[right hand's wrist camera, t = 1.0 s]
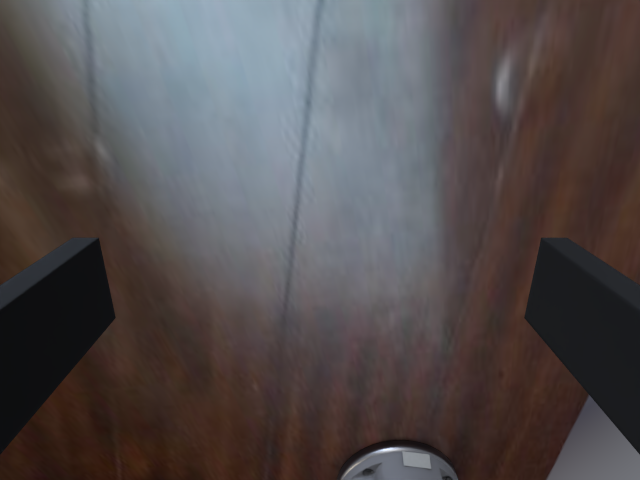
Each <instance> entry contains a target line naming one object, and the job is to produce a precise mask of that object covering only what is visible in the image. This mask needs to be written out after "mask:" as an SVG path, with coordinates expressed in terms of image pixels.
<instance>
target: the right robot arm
mask: <svg viewBox="0 0 640 480" xmlns="http://www.w3.org/2000/svg"><path fill="white" fill-rule="evenodd" d="M115 318H116V317H115V313H114V308H113V303H112V299H111V294H110V289H109V284H108V280H107V275H106V270H105V266H104V261H103V256H102V251H101V247H100V242H99V238H72V239H70V240H69V241H67V242H66V243H64V244H63V245H61V246H60V247H58V248H57V249H55V250H53V251H52V252H50V253H49V254H47V255H46V256H44V257H43V258H41V259H40V260H38V261H37V262H35V263H34V264H32V265H31V266H29V267H28V268H26V269H24V270H23V271H21V272H20V273H18V274H17V275H15V276H14V277H12V278H11V279H9V280H8V281H6V282H5V283H3V284H2V285H0V454H1V453H2V452H3V450H4V449H5V448H6V447H7V446H8V445H9V443H10V442H11V441H12V440H13V439H14V437H15V436H16V435H17V434H18V433H19V432H20V430H21V429H22V428H23V427H24V426H25V424H26V423H27V422H28V421H29V420H30V419H31V417H32V416H33V415H34V414H35V413H36V411H37V410H38V409H39V408H40V407H41V406H42V404H43V403H44V402H45V401H46V400H47V398H48V397H49V396H50V395H51V394H52V392H53V391H54V390H55V389H56V388H57V387H58V385H59V384H60V383H61V382H62V381H63V379H64V378H65V377H66V376H67V375H68V374H69V372H70V371H71V370H72V369H73V368H74V366H75V365H76V364H77V363H78V362H79V361H80V359H81V358H82V357H83V356H84V355H85V353H86V352H87V351H88V350H89V349H90V348H91V346H92V345H93V344H94V343H95V342H96V340H97V339H98V338H99V337H100V336H101V335H102V333H103V332H104V331H105V330H106V329H107V327H108V326H109V325H110V324H111V323H112V321H113V320H114V319H115ZM524 318H525V319H526V320H527V321H528V323H529V324H530V325H531V326H532V327H533V329H534V330H535V331H536V332H537V333H538V335H539V336H540V337H541V338H542V339H543V340H544V342H545V343H546V344H547V345H548V346H549V348H550V349H551V350H552V351H553V352H554V353H555V355H556V356H557V357H558V358H559V359H560V361H561V362H562V363H563V364H564V365H565V366H566V368H567V369H568V370H569V371H570V372H571V374H572V375H573V376H574V377H575V378H576V379H577V381H578V382H579V383H580V384H581V385H582V387H583V388H584V389H585V390H586V391H587V392H588V394H589V395H590V396H591V397H592V398H593V400H594V401H595V402H596V403H597V404H598V406H599V407H600V408H601V409H602V410H603V411H604V413H605V414H606V415H607V416H608V417H609V419H610V420H611V421H612V422H613V423H614V424H615V426H616V427H617V428H618V429H619V430H620V432H621V433H622V434H623V435H624V436H625V437H626V439H627V440H628V441H629V442H630V443H631V445H632V446H633V447H634V448H635V449H636V450H637V452H638V453H639V454H640V285H638V284H637V283H635V282H634V281H632V280H631V279H629V278H628V277H626V276H625V275H623V274H622V273H620V272H619V271H617V270H616V269H614V268H612V267H611V266H609V265H608V264H606V263H605V262H603V261H602V260H600V259H599V258H597V257H596V256H594V255H593V254H591V253H590V252H588V251H587V250H585V249H583V248H582V247H580V246H579V245H577V244H576V243H574V242H573V241H571V240H570V239H568V238H541V242H540V247H539V251H538V256H537V261H536V266H535V270H534V275H533V280H532V284H531V289H530V294H529V299H528V303H527V308H526V313H525V317H524ZM337 480H458V478H457V475H456V472H455V469H454V467H453V465H452V463H451V461H450V460H449V459H448V458H447V457H446V456H445V455H444V454H443V453H442V452H440V451H439V450H437V449H435V448H433V447H431V446H429V445H426V444H423V443H420V442H415V441H407V440H394V441H386V442H381V443H377V444H374V445H371V446H369V447H366V448H364V449H362V450H360V451H359V452H357V453H356V454H354V455H353V456H352V457H351V458H349V459H348V460H347V461H346V463H345V464H344V465H343V466H342V468H341V470H340V472H339V474H338V477H337Z"/></svg>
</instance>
